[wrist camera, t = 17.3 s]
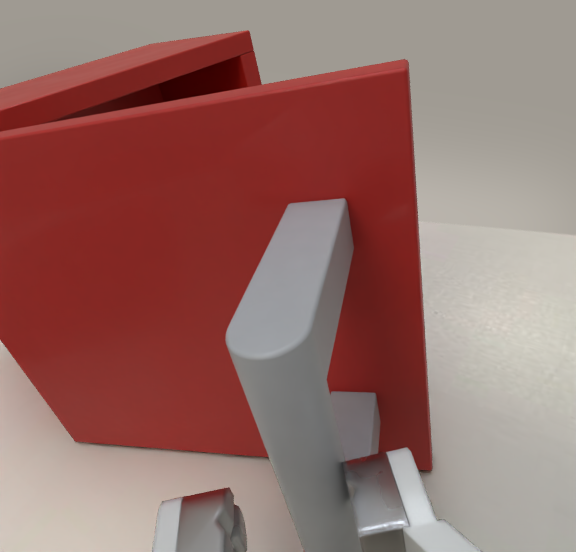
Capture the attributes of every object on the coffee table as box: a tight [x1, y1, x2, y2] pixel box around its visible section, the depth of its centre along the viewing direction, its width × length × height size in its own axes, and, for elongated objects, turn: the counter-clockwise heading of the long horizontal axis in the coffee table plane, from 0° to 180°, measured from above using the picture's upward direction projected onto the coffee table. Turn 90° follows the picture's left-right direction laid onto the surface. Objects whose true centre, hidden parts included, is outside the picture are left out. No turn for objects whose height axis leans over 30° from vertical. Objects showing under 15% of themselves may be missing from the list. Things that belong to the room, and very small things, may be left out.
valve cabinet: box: [0, 31, 262, 132], centre depth 28 cm, size 11×17×15 cm, turn 134°
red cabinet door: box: [0, 59, 432, 552], centre depth 14 cm, size 7×17×15 cm, turn 77°
